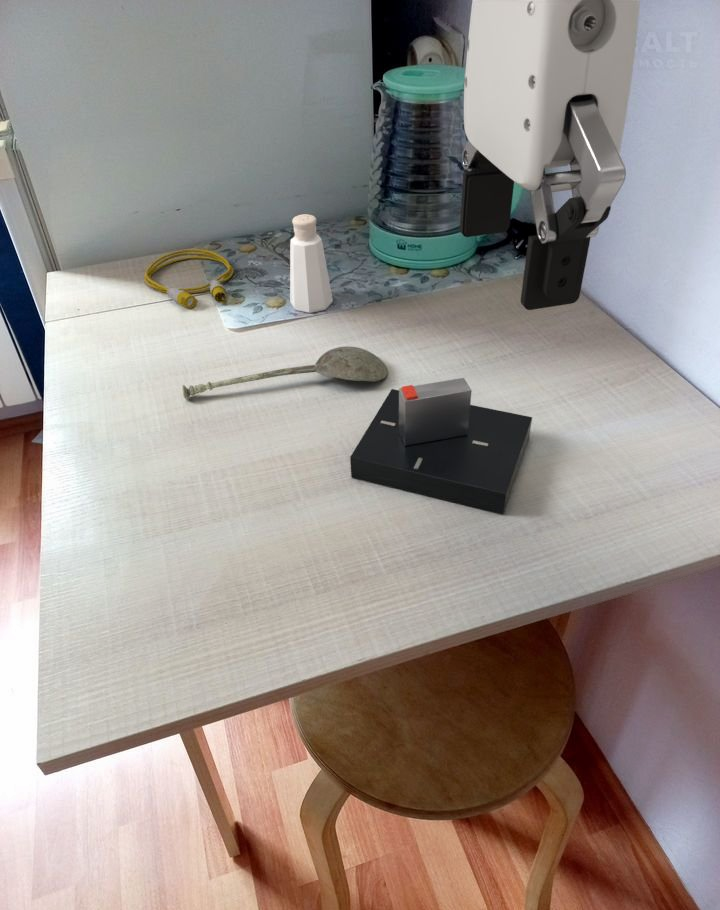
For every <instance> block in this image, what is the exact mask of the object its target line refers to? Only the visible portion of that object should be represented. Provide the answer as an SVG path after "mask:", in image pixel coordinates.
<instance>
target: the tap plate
mask: <svg viewBox="0 0 720 910" xmlns="http://www.w3.org/2000/svg"><path fill="white" fill-rule="evenodd" d="M532 423H533V417H532V416H529V415H523V414H518V413H515V412H509V411H504V410H498V409H493V408H489V407H483V406H479V405H474V404H470V415H469V426H468V435H463V436H458V437H452V438H447V439H441V440H435V441H430V442H424V443H419V444H413V445H407V446H405V445H404V443H403V441H402V439H401V436H400V434H399V389H394V388H391V390H390V391H389V393H388V394H387V396H386V398H385V399H384V401H383V403H382V404H381V406H380V407H379V409H378V411H377V412H376V414H375V415H374V417H373V419H372V421H371V422H370V424H369V425H368V427H367V429H366V430H365V432H364V434H363V435H362V436H361V439H360V441H359V442H358V444H357V445H356V447H355V448H354V450H353V451H352V453H351V455H350V457H349V459H350V478H351V479H355V480H360V481H365V482H368V483H371V484H375V485H380V486H384V487H388V488H392V489H396V490H401V491H405V492H408V493H413V494H416V495H420V496H425V497H428V498H432V499H437V500H441V501H444V502H449V503H453V504H457V505H462V506H465V507H470V508H474V509H478V510H482V511H486V512H490V513H494V514H499V515H504V513H505V511H506V507H507V505H508V502H509V499H510V495H511V492H512V490H513V486H514V483H515V481H516V478H517V475H518V473H519V469H520V466H521V464H522V461H523V457H524V455H525V451H526V448H527V445H528V442H529V440H530V436H531V435H530V434H531V428H532Z"/></svg>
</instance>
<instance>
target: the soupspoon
mask: <svg viewBox="0 0 720 910" xmlns="http://www.w3.org/2000/svg"><path fill="white" fill-rule="evenodd" d="M309 373H318V374H320V375H322V376H326V377H328V378H329V377H331V378H336V379H341V380H345V381H346V380H347V381H353V382H354V381H356V382H379V381H382V380H384V379H385V378H387V376H388V375H389V369H388V367H387V365H386V364H385V362H383V360H382V359H380V357H378V356H377V355H376V354H374V353H373V352H371V351H369V350H367V349H366V348H365V349H364V348H362V347H358V346H339V347H335V348H331V349H330V350H327V351H325V352H324V353H323V354H322V355H321V356H320V357H319V358H318V359H317V361H316V362H315V364H309V365H300V366H294V367H286V368H280V369H275V370H269V371H265V372H259V373H253V374H249V375H243V376H238V377H234V378H230V379H224V380H219V381H215V382H210V381H208V382H207V383H206V384H203V383H202V384H201V383H199V384H197V385H189V386H188V388H187V386H186V385H185V384H182V385H181V391H182V395H183V397H184V400H186V401H187V402H188V401H190V397H191V396H192V397H195V396H196V395H198V394H200V393H201V394H202V393H204V392H206V391H207V390H209V391H212V390H213V389H215V388H221V387H226V386H231V385H238V384H243V383H249V382H255V381H260V380H265V379H270V378H276V377H277V378H278V377H281V376H282V377H283V376H289V375H296V374H297V375H299V374H309Z"/></svg>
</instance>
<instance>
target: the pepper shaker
mask: <svg viewBox="0 0 720 910" xmlns="http://www.w3.org/2000/svg"><path fill="white" fill-rule="evenodd" d="M291 222H292V225H293V233H294V236H293V237H292V238H290V243H289V247H290V248H289V249H290V250H289V254H290V255H289V269H290V270H289V288H290V289H289V302H290V305H291V306H292V308H293V309H294V311H298V312H302V313H307V314H312V313H317V312H318V313H319V312H322V311H325V310H326V309H328V308H329V307H330V305H331V304H333V302H334V299H333V295H332V294H333V293H332V288H331V283H330V278H329V272H328V266H327V261H326V256H325V250H324V245H323V239H322V238H321V236H320V235H319V234H318V233H317V217H315V215H312V214H307V213H303V214H299V215H296V216H294V217H293V218H292V220H291Z"/></svg>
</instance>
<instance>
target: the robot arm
mask: <svg viewBox="0 0 720 910" xmlns="http://www.w3.org/2000/svg"><path fill="white" fill-rule="evenodd" d="M640 2H641V1H640V0H472V1H471V9H470V17H469V18H470V19H469V27H468V28H469V29H468V37H467V48H466V59H465V61H466V62H465V71H464V79H463V86H462V87H463V120H462V122H463V123H462V124H461V127H462V130H463V131H464V136H465V140H466V143H465V145H464V148H463V151H462V154H461V164H462V167H463V169H464V170H465V171H463V172H462V185H461V198H460V199H461V200H460V203H461V204H460V215H459V216H460V218H459V232H460V233H461V235H462V236H463V237H464V238H471V237H478V236H479V237H481V236H486V235H493V234H500V233H505V232H507V231H508V230H509V229H510V225H511V216H512V215H511V214H512V207H513V206H512V205H513V204H512V203H513V197H514V196H513V195H514V189H515V188H514V187H515V183H516V184H517V185H518V186H519V187H521V188H523V189H524V190H527V191H529V192H530V198H531V205H532V211H533V217H534V223H535V228H536V234H534V235H529V236H528V240H527V245H526V247H527V248H526V255H525V263H524V270H523V271H524V272H523V277H522V284H521V285H522V287H521V294H520V304H521V305H522V306H523V307H524V309H525V310H527V311H533V310H539V309H545V308H546V309H547V308H553V307H559V306H564V305H565V306H566V305H572V304H575V303H576V302H578V300H579V299H580V295H581V290H582V285H583V280H584V275H585V270H586V264H587V259H588V253H589V248H590V244H591V243H590V242H591V238H595V237H597V235H598V233H599V229H600V226H601V225H602V224H603V223H604V222H605V221H607V219H608V218H609V215H610V213H611V209H612V204H613V202H614V201H615V199H616V197H617V196H618V194H619V192H620V190H621V188H622V187H623V185H624V183H625V181H626V175H627V172H626V166H625V163H624V161H623V159H622V157H621V155H620V152H621V148H622V144H623V143H622V142H623V136H624V131H625V124H626V118H627V111H628V105H629V98H630V92H631V86H632V85H631V84H632V77H633V72H634V71H633V70H634V63H635V55H636V46H637V37H638V29H639V16H640V15H639V14H640ZM568 166H569V167H570V170H564V171H556V172H549V173H546V169H552V168H561V167H568ZM466 170H467V171H466ZM565 191H571V195H572V197H569V198H568V199H567V201H565V202H564V203H563V205H561V206H560V208H558V210H556V212H555V205H554V204H555V203H554V199H553V193H557V192H565Z"/></svg>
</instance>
